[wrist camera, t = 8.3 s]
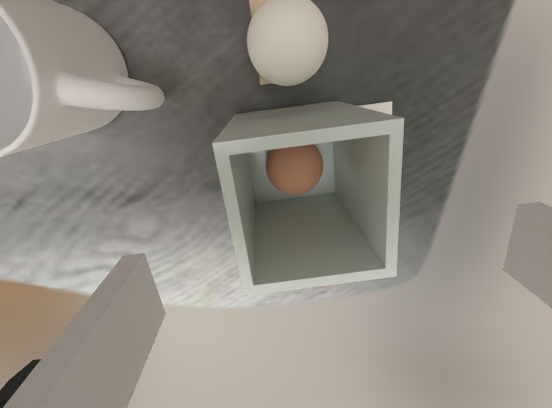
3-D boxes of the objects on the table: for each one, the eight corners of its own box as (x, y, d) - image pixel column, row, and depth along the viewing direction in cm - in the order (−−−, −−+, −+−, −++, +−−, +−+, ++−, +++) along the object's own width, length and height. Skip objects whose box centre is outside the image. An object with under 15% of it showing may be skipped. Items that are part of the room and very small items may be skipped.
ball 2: (261, 136, 24) (261, 147, 20) (315, 129, 24) (327, 139, 20) (268, 187, 25) (270, 207, 21) (319, 180, 25) (330, 199, 21)
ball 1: (243, 9, 17) (237, -13, 13) (317, -1, 17) (335, -26, 13) (254, 89, 19) (252, 92, 15) (322, 80, 19) (338, 80, 15)
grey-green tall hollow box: (235, 114, 23) (212, 143, 12) (336, 100, 23) (404, 117, 12) (250, 206, 27) (243, 295, 16) (340, 195, 27) (396, 276, 16)
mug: (188, 39, 21) (130, 5, 12) (177, 149, 24) (123, 192, 15) (8, -8, 20) (-225, -91, 10) (20, 116, 23) (-152, 141, 13)
